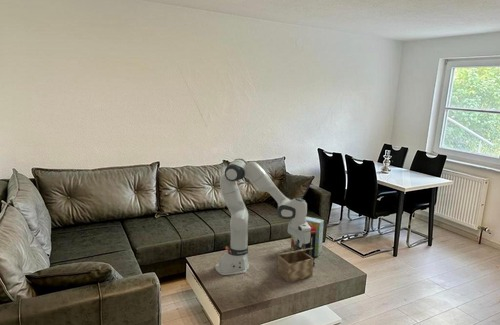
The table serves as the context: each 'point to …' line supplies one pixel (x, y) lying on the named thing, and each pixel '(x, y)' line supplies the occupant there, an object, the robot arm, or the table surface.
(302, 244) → the carton lid
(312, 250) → the graphics card box
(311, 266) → the carton
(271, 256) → the table surface
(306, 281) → the table surface
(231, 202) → the robot arm
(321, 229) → the snack box
